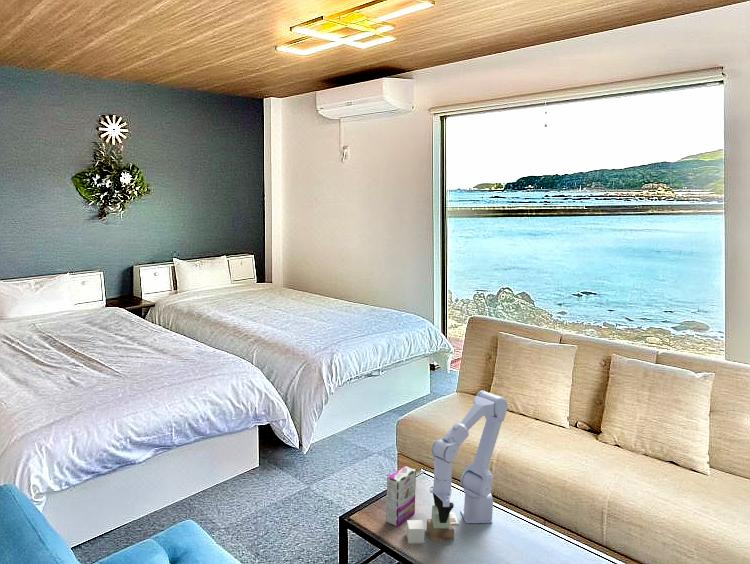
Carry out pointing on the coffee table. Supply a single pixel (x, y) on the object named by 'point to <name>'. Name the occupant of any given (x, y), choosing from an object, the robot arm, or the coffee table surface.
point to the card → (453, 519)
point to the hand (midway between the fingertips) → (440, 515)
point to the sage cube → (436, 519)
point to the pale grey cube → (415, 531)
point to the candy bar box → (400, 495)
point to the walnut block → (440, 532)
